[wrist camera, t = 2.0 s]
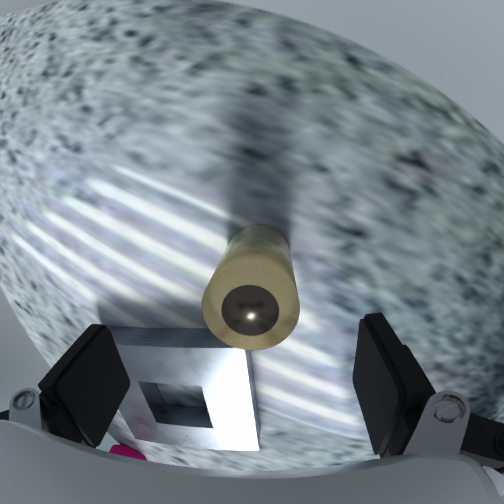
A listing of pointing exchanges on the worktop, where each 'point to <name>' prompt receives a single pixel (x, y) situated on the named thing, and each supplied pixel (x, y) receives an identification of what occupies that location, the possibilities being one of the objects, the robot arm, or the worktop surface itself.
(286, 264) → the cylinder
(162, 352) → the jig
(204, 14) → the worktop surface
